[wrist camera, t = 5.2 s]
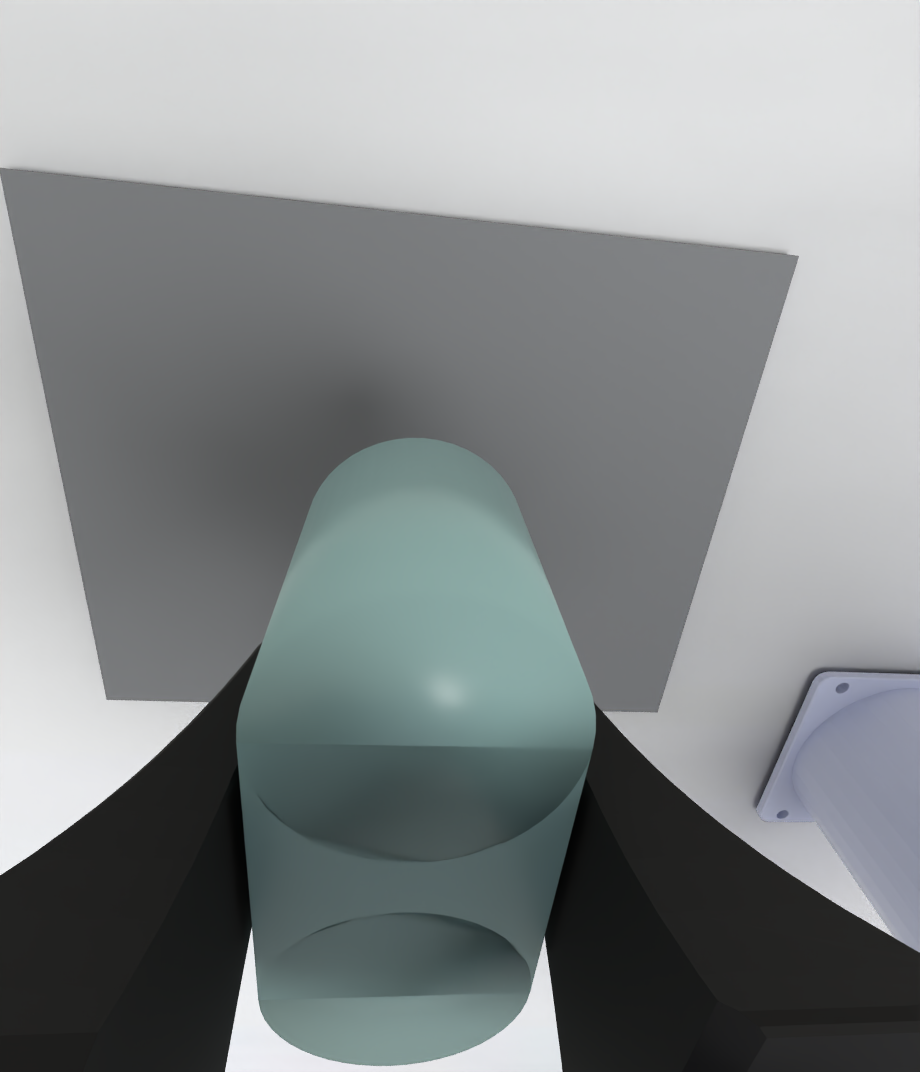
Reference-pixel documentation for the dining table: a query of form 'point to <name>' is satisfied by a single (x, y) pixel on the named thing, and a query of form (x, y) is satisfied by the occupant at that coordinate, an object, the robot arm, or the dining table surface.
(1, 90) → the dining table surface
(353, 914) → the teal plug
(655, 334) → the charcoal mat
